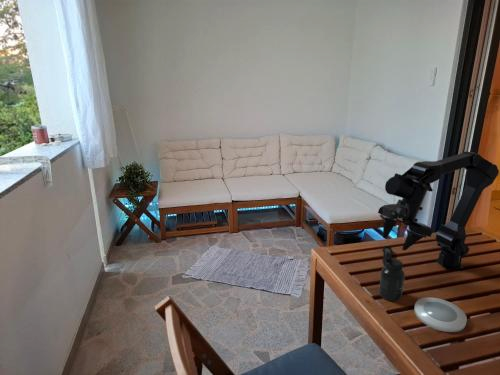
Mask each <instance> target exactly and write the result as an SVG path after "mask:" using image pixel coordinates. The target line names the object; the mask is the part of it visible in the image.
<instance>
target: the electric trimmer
mask: <svg viewBox="0 0 500 375" xmlns="http://www.w3.org/2000/svg"><path fill="white" fill-rule="evenodd" d="M382 252H383V257H382V264H383V267H385V264H386V260H387V259H390V258H391V259H393V248H392V247H391V246H389V245H385V246H384V247H383V248H382Z"/></svg>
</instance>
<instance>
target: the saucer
mask: <svg viewBox="0 0 500 375" xmlns="http://www.w3.org/2000/svg"><path fill="white" fill-rule="evenodd" d="M413 308H414V309H413V310H414V315H415V316H416V317H417V319H418V320H419V321H420V322H421V323H423V324H424V325H426V326H428V327H430V328H431V329H434V330H437V331H440V332H445V333H446V332H447V333H456V332H461V331H463V330H464V329H465V328H466V326H467V322H468V319H467V318H468V317H467V315H466V313H465V312H464V311H463V309H461V308H460V307H459V306H457V305H456V304H454V303H452V302H450V301H449V300H448V301H447V300H446V299H443V298H442V299H441V298H437V297H422V298H420V299H418V300H417V301H416V302H415V303H414V307H413Z"/></svg>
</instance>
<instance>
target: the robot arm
mask: <svg viewBox="0 0 500 375" xmlns="http://www.w3.org/2000/svg"><path fill="white" fill-rule="evenodd" d="M461 169H465V170H466V173H465V180H466V186H465V188H464V190H463V192H462V195H461V196H460V198H459V200H458V202H457V204H456V207H455V209H454V211H453V214H452V215H451V218H450V219H449V221H448V222H446V223H445V224H443V223H441V224H440V225H439V226H438V230H437V231H436V233H435V239H436V240H435V241H436V245H437V247H440V252H439V253H438V254H439V255H438V259H435V262H436V263H437V264H439V265H441V267H442V268H444V269H445V270H447V271H452V270H462V269H464V267H465V266H463V265H462V259H463V257H465V256H466V255H468V253H469V252H470V248H469V246H468V245H467V244H466V243H465V241H466V238H467V232H466V229H465V228H466V226H467V224H468V222H469V220H470V218H471V215H472V214H473V211H474V210H475V208H476V205H477V204H478V202H479V199H480V198H481V195H482V192H483V191H484V190H485V189H486V188H488V187H490V186H491V185H493V183H494V182H495V181H496V178H498V176H499V174H500V171H499V168H498V165H497V164H495V163H492V162H491V161H489V160H487V159H485V158H484V157H482V155H481V154H479V153H478V152H477V153H476V152H472V151H467V150H466V151H462V152H461V153H459V154H455V155H451V156H449V157H445V158H442V159H439V160H434V161H432V160H431V161H428V160H427V161H426V160H425V161H424V160H423V161H417V162H414V164H412V166H411V167H410V168H409V169H407V170H406V171H405V172H404V173H403V174H399V173H394V176H392V177H389V178H388V179H387V181H386V182H385V185H384V190H385V193H386V194H388V195H392V196H395V197H398V198H402V199H397V202H396V203H390V204H384V205H382V206H380V207H379V208H378V211H377V213H378V215H379V217H380V218H381V221H382V222H383V223H382V224H383V225H382V226H383V232H382V237H383V239H387V238H388V236H389V235H390V233H391V231H392V230H393V228H394V227H395V225H396V224H397V223H398V222H400V223H402V224H404V225H407V226H408V229H406V233H407V236H406V237H405V241H404V243H403V244H402V245H403V246H402V249H401V250H402V251H405V252H406V251H407V250H408V249H409V248H410V247H412V246H413V245H415V243H417V242H418V241H420V240H421V239H423V238H424V239H426V238H427V237H430V238H431V237H432V234H433V232H434V231H433V228H432V227H431V226H428V225H427V224H425V223H422V222H418V220H419V219H418V218H417V216H418V213H419V211H423V208H424V207H423V206H422V203H423V202H424V199H425V197H426V194H427V193H428V192H433V191H434V190H433V188H432V186H431V184H433V183H435V182H436V181H439V180H441V179H442V177H443V175H445V174H449V173H451V172H455V171H457V170H461Z"/></svg>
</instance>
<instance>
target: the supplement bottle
mask: <svg viewBox="0 0 500 375" xmlns="http://www.w3.org/2000/svg"><path fill="white" fill-rule="evenodd" d="M403 266H404V265H403V261H401V260H400V259H397V258H392V259H391V258H390V259H387V260H386V264H385V267H384V266H383V267H382V268H381V271H380V280H379V288H378V289H379V290H378V294H379V296H380V297H381V298H383V299H384V300H386V301H388V302H398V301H400V300H402V298H403V292H404V286H405V277H406V274H405V271H404V270H403Z"/></svg>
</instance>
